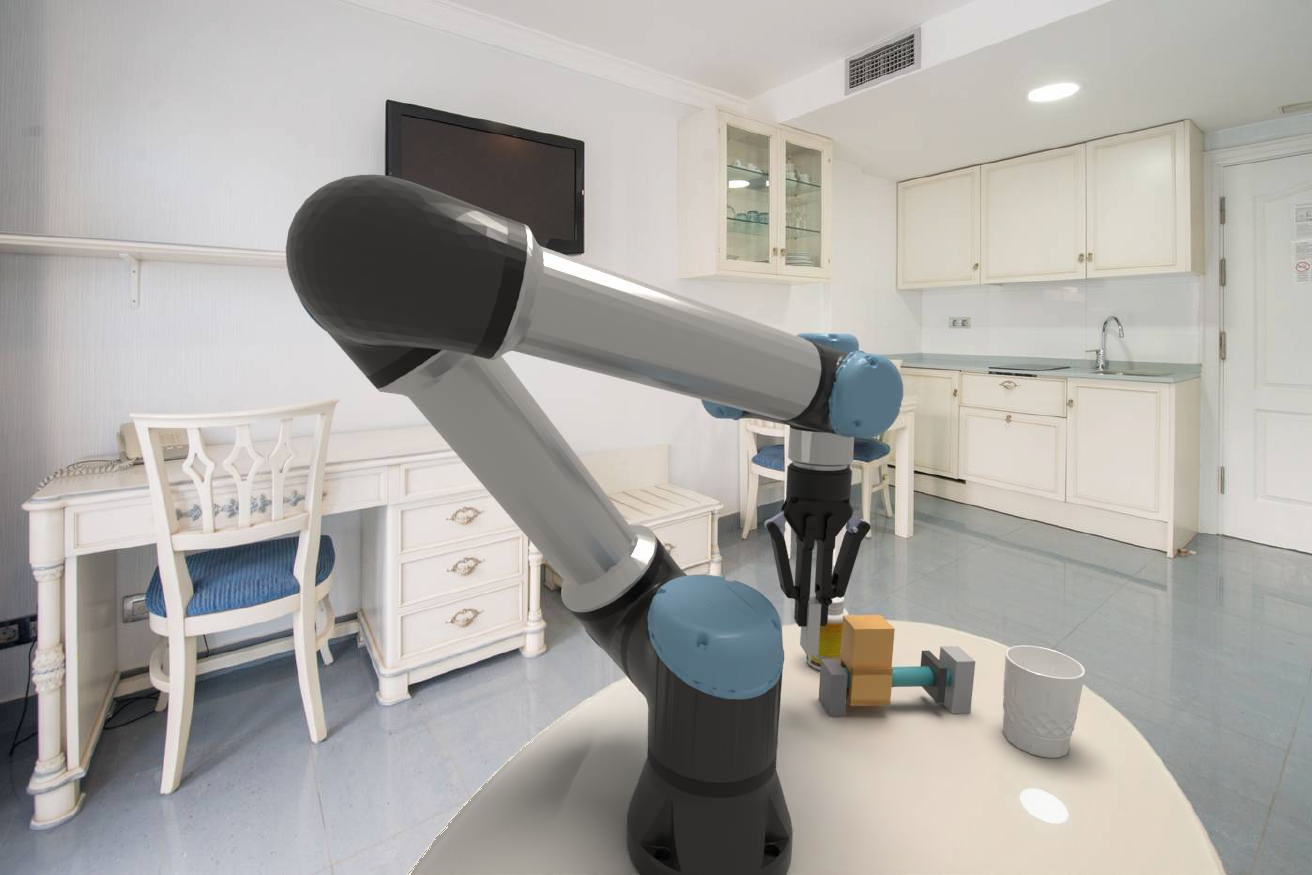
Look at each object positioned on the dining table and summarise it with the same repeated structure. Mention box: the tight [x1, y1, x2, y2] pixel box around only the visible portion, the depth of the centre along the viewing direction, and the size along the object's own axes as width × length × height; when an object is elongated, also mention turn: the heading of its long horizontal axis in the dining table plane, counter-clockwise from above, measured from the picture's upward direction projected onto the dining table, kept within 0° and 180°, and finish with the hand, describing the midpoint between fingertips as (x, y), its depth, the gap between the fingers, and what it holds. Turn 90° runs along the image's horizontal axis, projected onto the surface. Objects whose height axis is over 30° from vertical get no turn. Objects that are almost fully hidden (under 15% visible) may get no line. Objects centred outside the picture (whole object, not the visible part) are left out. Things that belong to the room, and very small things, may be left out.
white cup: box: [1002, 644, 1086, 759], centre depth 75 cm, size 8×8×10 cm
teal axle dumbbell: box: [818, 645, 976, 718], centre depth 81 cm, size 18×5×7 cm, turn 94°
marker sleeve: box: [839, 614, 896, 707], centre depth 81 cm, size 5×5×10 cm
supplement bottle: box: [805, 596, 850, 671], centre depth 92 cm, size 6×6×10 cm
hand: (809, 649), depth 80 cm, fingers closed
